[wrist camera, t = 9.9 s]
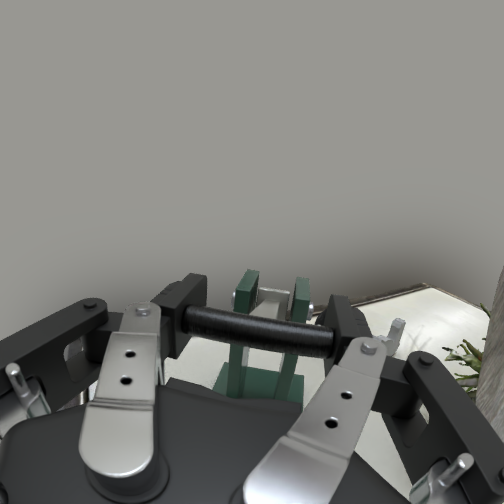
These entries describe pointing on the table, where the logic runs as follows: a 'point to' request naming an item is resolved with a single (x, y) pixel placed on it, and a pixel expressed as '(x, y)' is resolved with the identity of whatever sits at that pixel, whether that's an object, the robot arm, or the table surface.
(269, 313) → the switch lever
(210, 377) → the table surface
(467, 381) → the upside-down potted plant
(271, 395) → the switch bracket
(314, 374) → the table surface
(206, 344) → the table surface
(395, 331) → the grey tape dispenser
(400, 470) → the table surface
